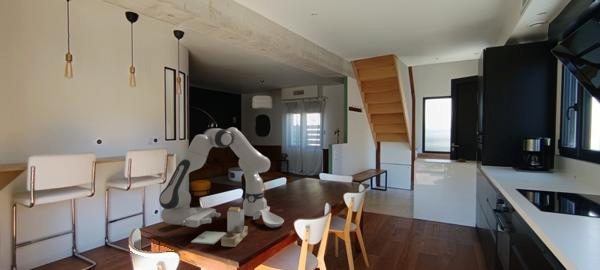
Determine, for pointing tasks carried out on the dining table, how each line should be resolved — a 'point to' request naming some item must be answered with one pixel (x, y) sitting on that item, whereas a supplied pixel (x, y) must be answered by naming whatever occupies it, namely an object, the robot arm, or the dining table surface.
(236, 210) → the grey tall block
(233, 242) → the block plane
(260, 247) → the dining table surface
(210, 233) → the mat
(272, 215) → the spoon rest
